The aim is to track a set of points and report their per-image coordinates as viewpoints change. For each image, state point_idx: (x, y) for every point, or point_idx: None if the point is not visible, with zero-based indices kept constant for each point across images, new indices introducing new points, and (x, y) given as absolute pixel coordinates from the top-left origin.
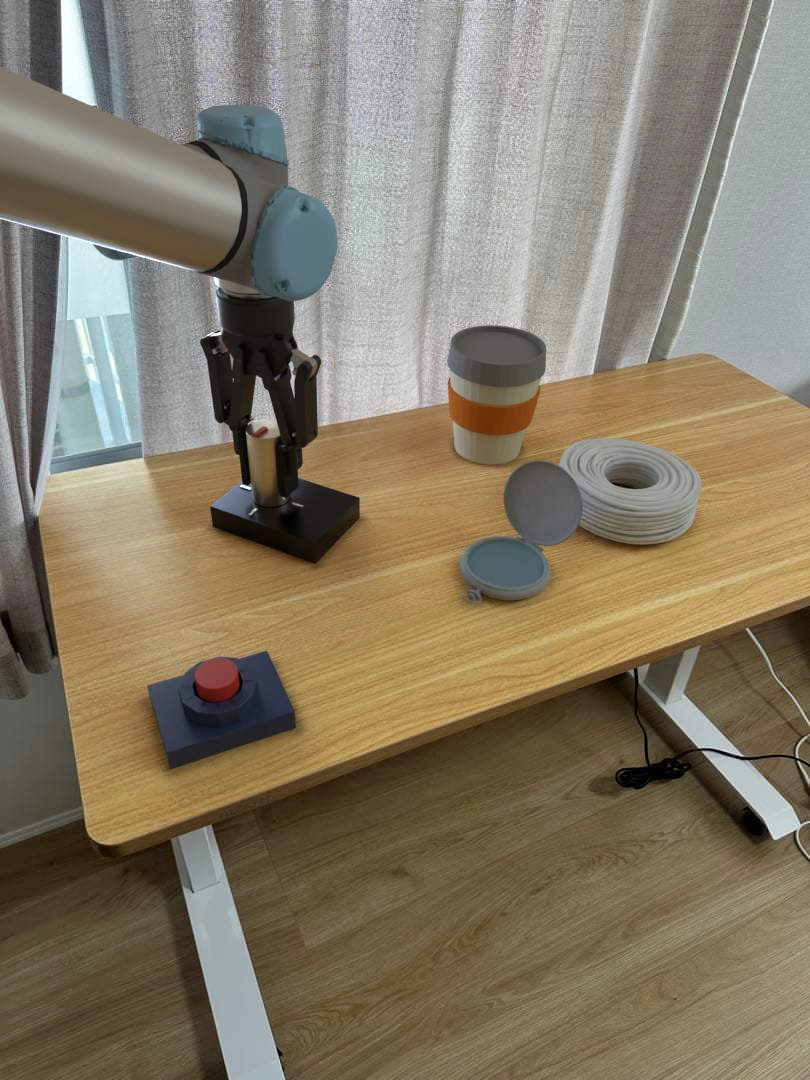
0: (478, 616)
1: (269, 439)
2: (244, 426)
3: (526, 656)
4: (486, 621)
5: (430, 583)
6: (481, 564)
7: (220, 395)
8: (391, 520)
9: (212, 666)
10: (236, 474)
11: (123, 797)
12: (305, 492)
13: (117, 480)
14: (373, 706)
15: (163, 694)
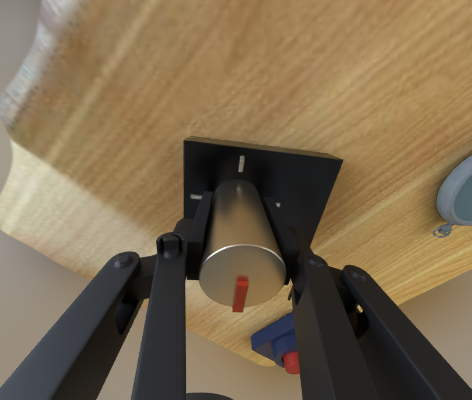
0: None
1: (266, 300)
2: (186, 267)
3: (463, 256)
4: (442, 239)
5: (401, 217)
6: (467, 199)
7: (103, 382)
8: (363, 142)
9: (293, 367)
10: (143, 123)
11: (266, 359)
12: (271, 176)
13: (37, 192)
14: (361, 308)
15: (262, 350)
